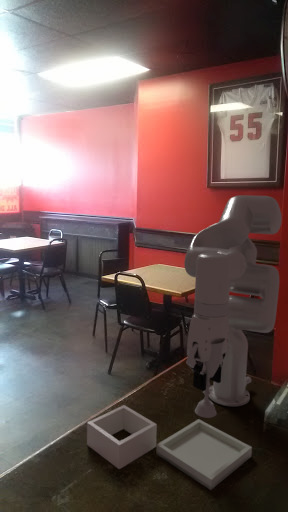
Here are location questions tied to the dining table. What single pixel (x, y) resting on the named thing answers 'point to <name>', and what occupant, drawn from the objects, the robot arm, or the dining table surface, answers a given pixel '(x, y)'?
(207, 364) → the chalice
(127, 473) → the dining table surface
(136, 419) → the sleeve
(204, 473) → the tray
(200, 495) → the dining table surface
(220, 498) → the dining table surface
